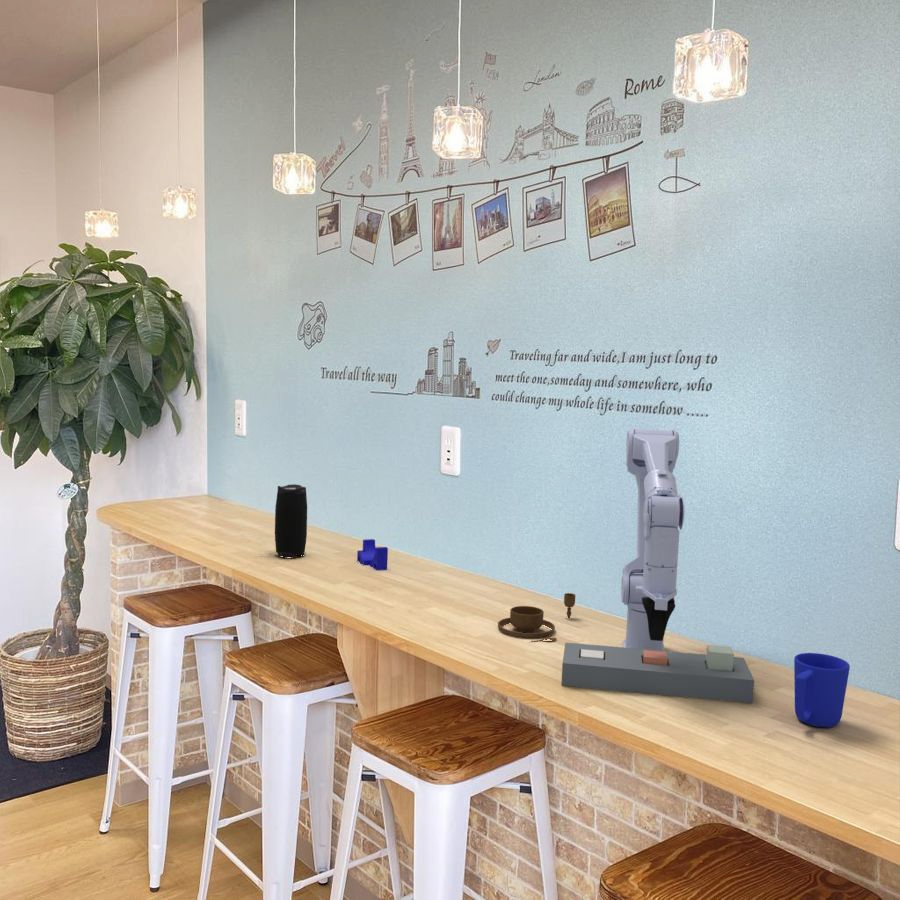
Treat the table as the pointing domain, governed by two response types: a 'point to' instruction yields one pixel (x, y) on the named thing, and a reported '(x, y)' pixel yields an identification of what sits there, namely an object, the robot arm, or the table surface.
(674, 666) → the button panel
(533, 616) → the place setting
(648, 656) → the terracotta button
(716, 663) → the sage button
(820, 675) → the mug
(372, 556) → the blue blocky piece
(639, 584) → the robot arm
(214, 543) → the table surface
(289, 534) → the portable speaker
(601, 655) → the white cube
